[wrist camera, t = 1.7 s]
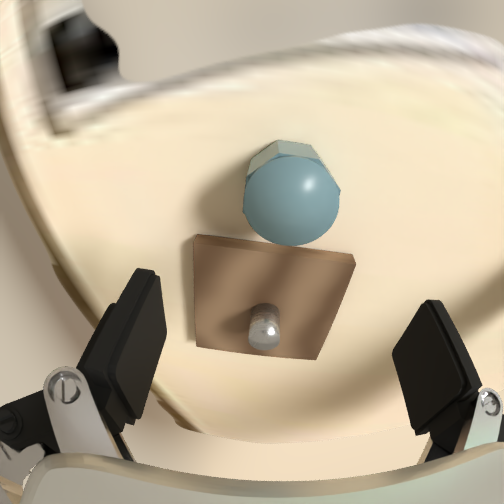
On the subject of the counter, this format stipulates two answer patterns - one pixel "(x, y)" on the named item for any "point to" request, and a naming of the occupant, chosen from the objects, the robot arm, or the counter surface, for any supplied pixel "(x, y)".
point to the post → (264, 326)
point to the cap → (290, 194)
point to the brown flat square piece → (266, 293)
